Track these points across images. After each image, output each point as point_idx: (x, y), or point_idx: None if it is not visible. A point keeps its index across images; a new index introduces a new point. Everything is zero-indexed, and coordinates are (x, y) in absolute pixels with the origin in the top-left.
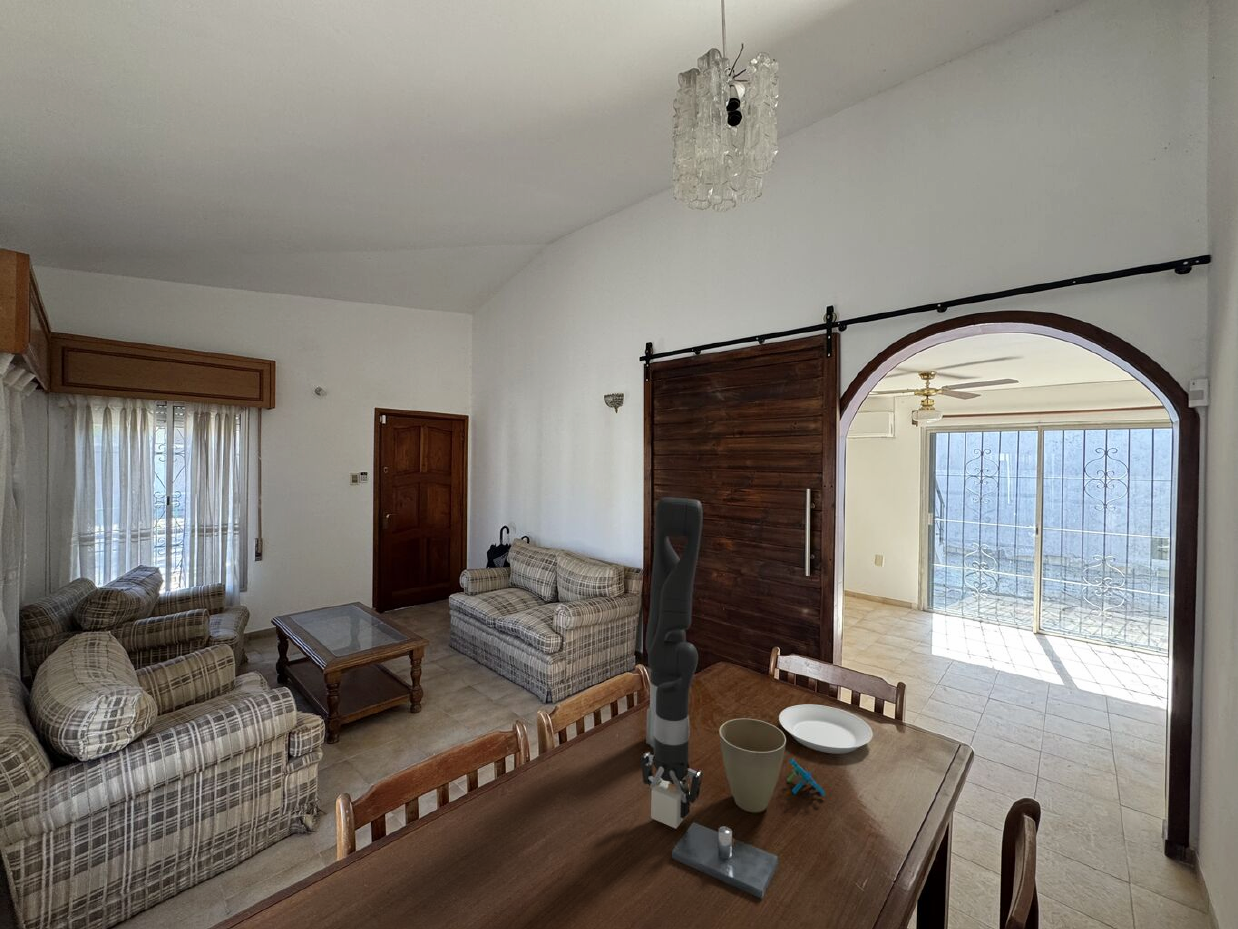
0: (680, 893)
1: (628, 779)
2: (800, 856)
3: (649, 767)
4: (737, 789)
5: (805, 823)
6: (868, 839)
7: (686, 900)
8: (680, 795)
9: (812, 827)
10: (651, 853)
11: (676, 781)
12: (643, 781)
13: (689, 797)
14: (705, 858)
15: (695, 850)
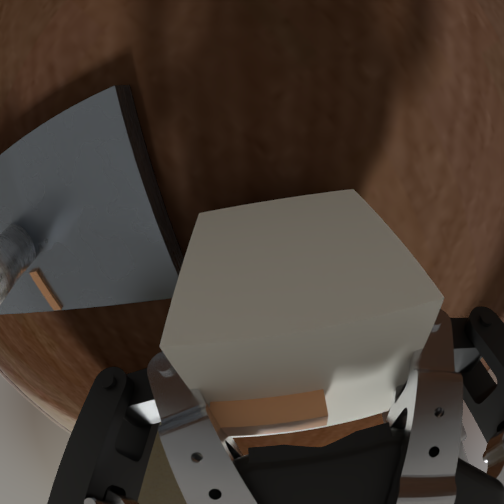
0: (28, 20)
1: (469, 300)
2: (19, 337)
3: (496, 412)
4: (157, 433)
5: (83, 395)
6: (38, 392)
7: (9, 26)
8: (189, 386)
9: (72, 391)
10: (221, 35)
11: (206, 499)
12: (492, 312)
13: (119, 394)
14: (22, 177)
15: (60, 177)
